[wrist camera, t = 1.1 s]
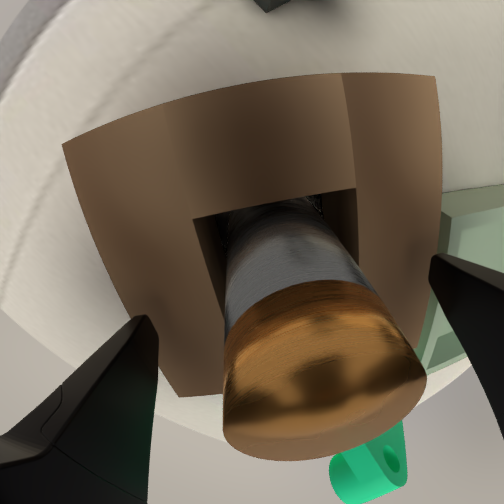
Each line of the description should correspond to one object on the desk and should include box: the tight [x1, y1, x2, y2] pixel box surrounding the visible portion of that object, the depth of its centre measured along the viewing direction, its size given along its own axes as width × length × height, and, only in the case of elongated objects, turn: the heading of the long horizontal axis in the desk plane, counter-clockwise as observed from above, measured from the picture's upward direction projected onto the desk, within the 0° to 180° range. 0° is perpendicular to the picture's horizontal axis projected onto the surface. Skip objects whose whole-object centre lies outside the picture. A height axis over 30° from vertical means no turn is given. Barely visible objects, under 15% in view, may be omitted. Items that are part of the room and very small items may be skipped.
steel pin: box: [223, 196, 427, 461], centre depth 9 cm, size 4×4×10 cm
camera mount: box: [329, 420, 407, 504], centre depth 16 cm, size 12×8×10 cm, turn 49°
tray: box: [413, 184, 504, 375], centre depth 14 cm, size 12×12×3 cm
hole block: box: [62, 73, 442, 397], centre depth 11 cm, size 12×12×4 cm
